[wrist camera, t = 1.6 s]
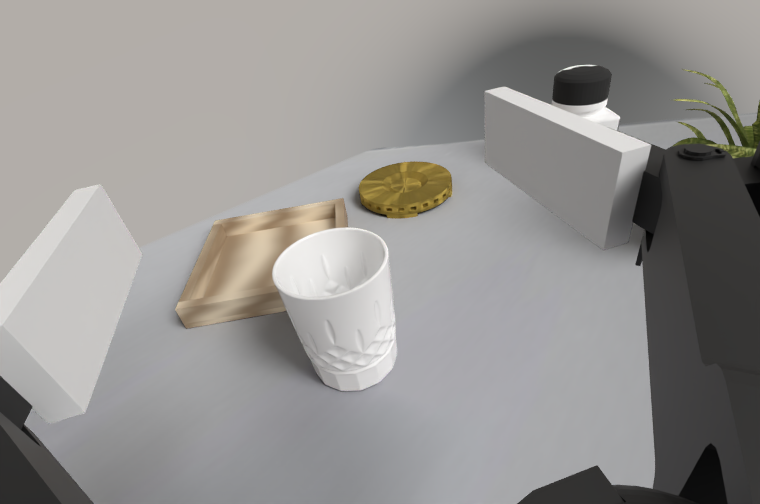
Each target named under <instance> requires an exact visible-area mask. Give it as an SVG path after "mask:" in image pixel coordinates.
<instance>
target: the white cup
mask: <svg viewBox="0 0 760 504" xmlns="http://www.w3.org/2000/svg"><path fill="white" fill-rule="evenodd" d="M272 278H273V282H274V284H275V286H276V288H277V290H278V293H279V295H280V297H281V299H282V302H283V304H284V306H285V308H286V311H287V313H288V315H289V317H290V320H291V322H292V324H293V327H294V329H295V331H296V333H297V335H298V337H299V339H300V341H301V343H302V345H303V347H304V349H305V351H306V353H307V355H308V357H309V358H310V360H311V362H312V365H313V367H314V369H315V371H316V373H317V374H318V376H319V377H320V378H321V380H322V381H323V382H324V384H325V385H328V386H330V387H332V388H335V389H337V390H340V391H361V390H364V389H366V388H368V387H370V386H373V385H375V384H377V383H379V382H380V381H381V380H382V379H383V378H384V377H385V376H386V375H387V374H388V373H389V372H390V371H391V370H392V369H393V366H394V363H395V360H396V357H397V345H396V337H395V313H394V299H393V290H392V281H391V273H390V264H389V254H388V248H387V245H386V244H385V242H384V241H383V240H382V238H380V237H379V236H378V235H376V234H374V233H372V232H370V231H367V230H364V229H359V228H348V227H345V228H333V229H327V230H323V231H319V232H316V233H313V234H310V235H308V236H306V237H304V238H302V239H300V240H298V241H296V242H295V243H293V244H292V245H290V246H289V247H288V248H286V249H285V250H284V251H283V252H282V253H281V254H280V256H279V257H278V258H277V260H276V262H275V264H274V266H273V270H272Z"/></svg>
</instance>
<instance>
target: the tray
mask: <svg viewBox="0 0 760 504" xmlns="http://www.w3.org/2000/svg"><path fill="white" fill-rule="evenodd" d="M345 227H348V221H347V213H346V208H345V204H344V199H343V198H342V199H336V200H330V201H325V202H319V203H313V204H308V205H302V206H296V207H291V208H285V209H279V210H273V211H268V212H262V213H256V214H251V215H245V216H239V217H234V218H228V219H222V220H217V221H215V222H214V224H213V226H212V229H211V231H210V233H209V235H208V238H207V240H206V242H205V244H204V246H203V249H202V251H201V253H200V255H199V258H198V260H197V262H196V264H195V266H194V269H193V271H192V273H191V275H190V278H189V280H188V282H187V284H186V286H185V289H184V291H183V293H182V295H181V298H180V300H179V302H178V304H177V306H176V309H175V310H176V312H177V314H178V315H179V317H180V319H181V320H182V322H183V324H184V325H185V327H186V329H187V328H193V327H199V326H204V325H210V324H216V323H221V322H227V321H233V320H239V319H244V318H250V317H256V316H261V315H267V314H273V313H279V312H284V311H286V308H285V306H284V304H283V302H282V299H281V297H280V295H279V293H278V290H277V288H276V286H275V284H274V282H273V278H272V270H273V266H274V264H275V262H276V260H277V258H278V257H279V256H280V254H281V253H282V252H283V251H284V250H285V249H286V248H288V247H289V246H290V245H292V244H293V243H295V242H296V241H298V240H300V239H302V238H304V237H306V236H308V235H310V234H313V233H316V232H319V231H323V230H327V229H333V228H345Z"/></svg>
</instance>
